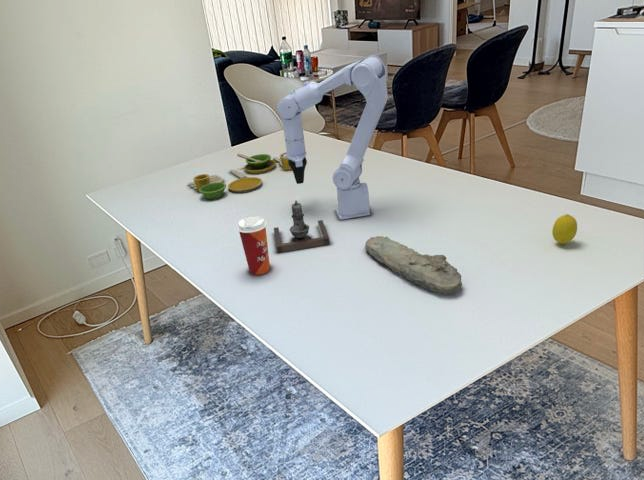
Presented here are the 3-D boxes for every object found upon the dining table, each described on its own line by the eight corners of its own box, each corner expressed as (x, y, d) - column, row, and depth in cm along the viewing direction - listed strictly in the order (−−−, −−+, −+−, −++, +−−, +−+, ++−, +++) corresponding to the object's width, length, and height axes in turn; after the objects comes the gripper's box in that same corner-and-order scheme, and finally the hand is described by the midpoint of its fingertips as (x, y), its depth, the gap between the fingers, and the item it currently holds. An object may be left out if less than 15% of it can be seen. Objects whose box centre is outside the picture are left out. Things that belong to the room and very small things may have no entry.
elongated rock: (386, 244, 159) (356, 257, 156) (384, 227, 156) (353, 240, 153) (475, 286, 132) (441, 302, 129) (474, 265, 129) (439, 282, 126)
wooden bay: (323, 226, 172) (322, 219, 171) (329, 244, 161) (328, 238, 160) (274, 233, 172) (273, 227, 171) (277, 253, 161) (276, 246, 160)
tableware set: (278, 158, 232) (276, 142, 228) (310, 174, 211) (308, 157, 207) (183, 185, 220) (179, 169, 217) (207, 205, 200) (203, 187, 196)
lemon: (573, 239, 144) (579, 209, 140) (574, 249, 140) (580, 219, 136) (550, 239, 146) (554, 209, 142) (550, 248, 142) (555, 218, 137)
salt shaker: (290, 236, 169) (284, 198, 162) (309, 233, 169) (304, 194, 162) (292, 245, 164) (286, 205, 157) (312, 242, 164) (307, 202, 157)
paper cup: (270, 276, 151) (261, 227, 142) (242, 277, 152) (232, 228, 144) (276, 262, 157) (268, 214, 148) (250, 263, 158) (240, 216, 150)
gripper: (279, 134, 176) (285, 177, 184) (283, 147, 164) (289, 192, 172) (301, 130, 176) (306, 173, 184) (307, 143, 164) (312, 189, 172)
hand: (299, 182), depth 178 cm, fingers closed
